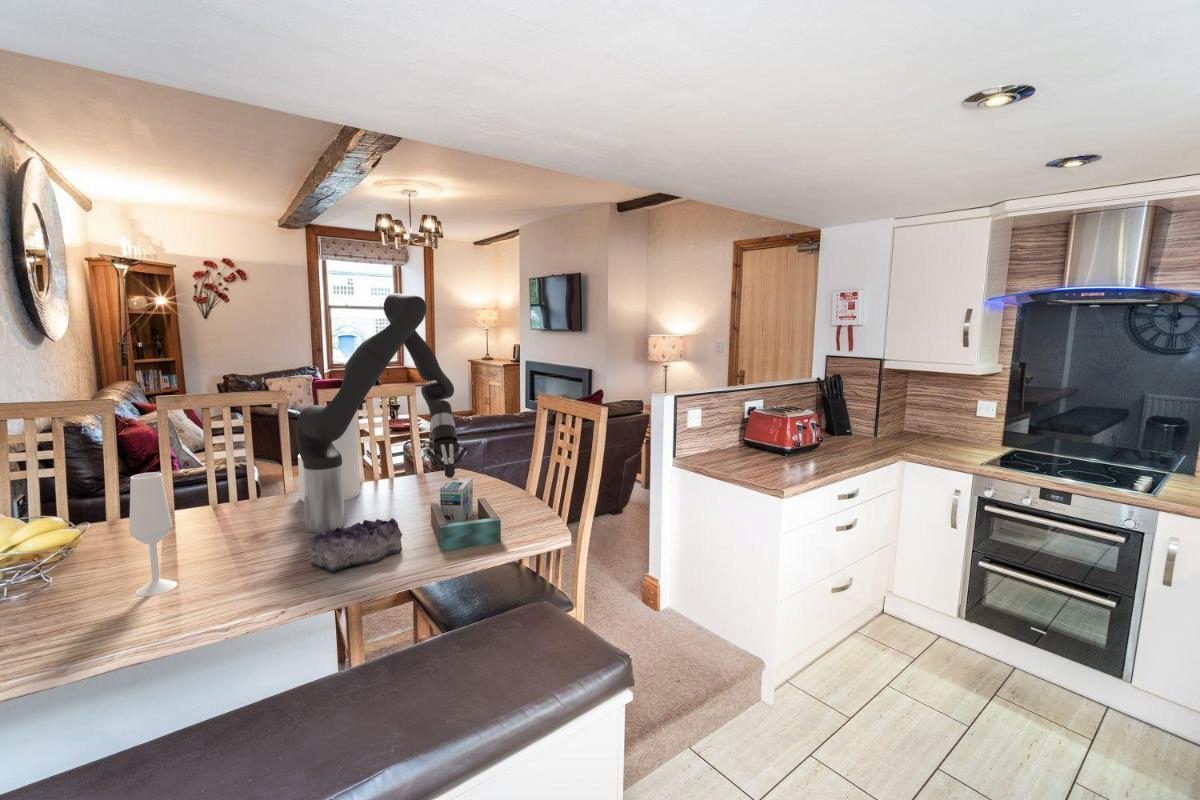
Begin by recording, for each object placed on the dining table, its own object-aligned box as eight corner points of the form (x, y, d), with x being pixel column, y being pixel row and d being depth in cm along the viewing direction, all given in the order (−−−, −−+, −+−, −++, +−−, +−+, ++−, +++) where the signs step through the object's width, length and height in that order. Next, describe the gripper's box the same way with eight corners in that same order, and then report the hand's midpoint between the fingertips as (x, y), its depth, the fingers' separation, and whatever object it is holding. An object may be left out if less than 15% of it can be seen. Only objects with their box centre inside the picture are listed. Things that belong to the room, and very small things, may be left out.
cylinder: (371, 493, 175) (368, 408, 171) (320, 507, 160) (315, 415, 156) (340, 484, 184) (336, 403, 180) (289, 496, 169) (284, 409, 165)
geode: (390, 540, 138) (392, 504, 136) (409, 560, 130) (412, 522, 128) (303, 559, 124) (304, 519, 122) (319, 583, 116) (321, 541, 114)
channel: (440, 550, 131) (440, 527, 131) (431, 524, 149) (430, 503, 148) (500, 542, 138) (500, 519, 137) (484, 517, 155) (484, 497, 154)
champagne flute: (180, 588, 110) (171, 475, 107) (138, 599, 105) (126, 482, 102) (173, 577, 115) (164, 469, 112) (132, 588, 110) (121, 475, 107)
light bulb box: (463, 526, 148) (463, 488, 147) (439, 525, 148) (439, 488, 147) (473, 512, 159) (473, 477, 157) (451, 512, 159) (450, 477, 157)
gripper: (422, 424, 167) (428, 472, 158) (465, 422, 172) (473, 468, 163) (421, 437, 173) (427, 485, 163) (462, 435, 178) (470, 480, 169)
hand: (450, 476), depth 163 cm, fingers closed
